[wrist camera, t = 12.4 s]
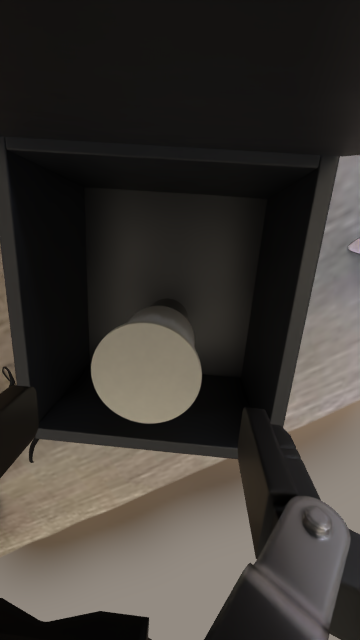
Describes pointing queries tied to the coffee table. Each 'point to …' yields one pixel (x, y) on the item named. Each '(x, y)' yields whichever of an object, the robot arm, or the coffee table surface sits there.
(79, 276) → the open lidded box
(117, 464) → the coffee table surface
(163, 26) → the lid
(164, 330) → the coffee pod
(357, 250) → the water lily
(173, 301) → the cylinder
